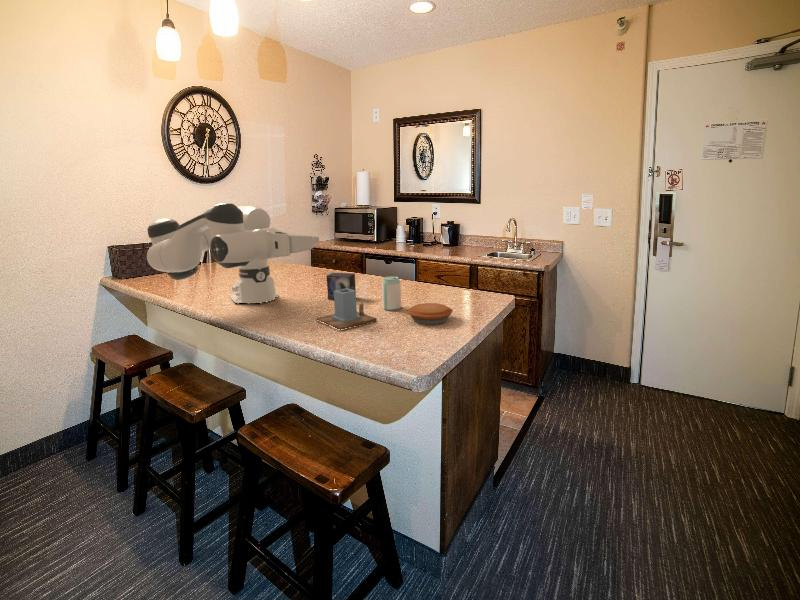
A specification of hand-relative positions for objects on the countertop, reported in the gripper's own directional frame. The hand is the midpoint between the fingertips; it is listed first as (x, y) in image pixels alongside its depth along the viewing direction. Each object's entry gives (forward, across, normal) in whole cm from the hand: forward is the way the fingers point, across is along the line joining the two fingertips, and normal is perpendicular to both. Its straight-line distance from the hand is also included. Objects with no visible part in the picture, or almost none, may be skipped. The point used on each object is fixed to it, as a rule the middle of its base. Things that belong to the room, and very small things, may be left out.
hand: (309, 238), depth 142 cm
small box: (+32, -26, -30) cm, 51 cm away
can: (+34, +1, -30) cm, 46 cm away
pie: (+32, +22, -30) cm, 49 cm away
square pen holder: (+12, +1, -29) cm, 31 cm away
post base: (+12, +1, -30) cm, 32 cm away
